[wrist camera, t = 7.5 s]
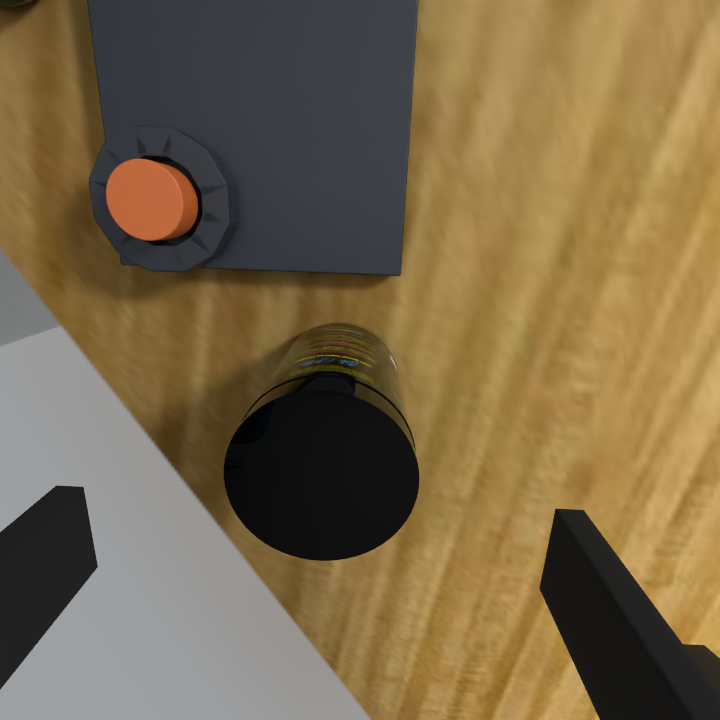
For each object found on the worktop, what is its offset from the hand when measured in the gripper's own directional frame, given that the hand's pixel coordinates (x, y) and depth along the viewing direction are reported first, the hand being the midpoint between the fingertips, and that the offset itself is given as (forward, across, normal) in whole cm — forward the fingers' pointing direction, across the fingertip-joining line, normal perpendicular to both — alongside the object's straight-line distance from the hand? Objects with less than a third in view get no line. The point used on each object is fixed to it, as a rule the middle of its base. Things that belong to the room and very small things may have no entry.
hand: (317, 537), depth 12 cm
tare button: (+10, -8, +9) cm, 16 cm away
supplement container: (+13, 0, 0) cm, 13 cm away
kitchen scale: (+13, -4, +14) cm, 20 cm away
